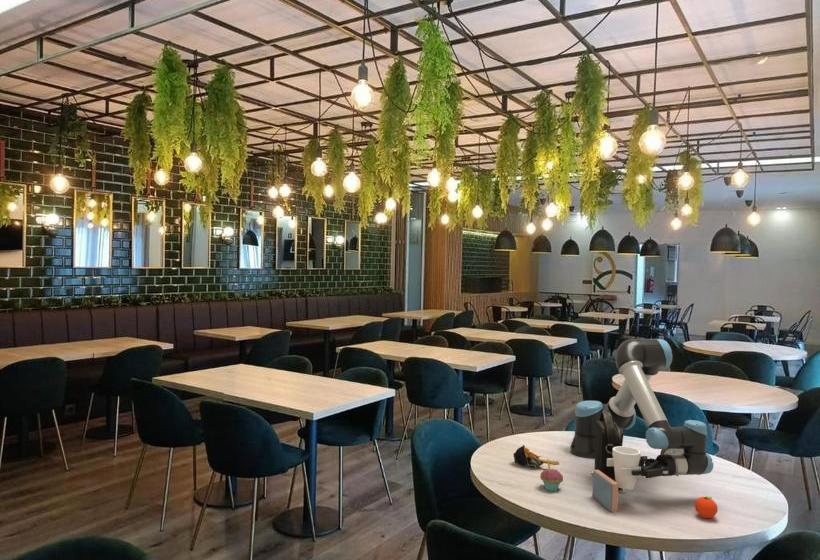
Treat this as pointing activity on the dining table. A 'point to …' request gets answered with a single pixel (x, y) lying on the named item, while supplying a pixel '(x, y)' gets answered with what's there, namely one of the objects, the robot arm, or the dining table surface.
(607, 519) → the dining table surface
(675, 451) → the tin
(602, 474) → the tile
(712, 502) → the clementine
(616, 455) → the foam cup
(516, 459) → the fried shrimp in bowl
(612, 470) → the shoulder bag
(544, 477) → the cupcake
